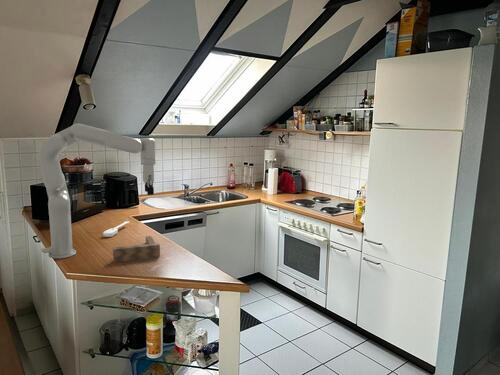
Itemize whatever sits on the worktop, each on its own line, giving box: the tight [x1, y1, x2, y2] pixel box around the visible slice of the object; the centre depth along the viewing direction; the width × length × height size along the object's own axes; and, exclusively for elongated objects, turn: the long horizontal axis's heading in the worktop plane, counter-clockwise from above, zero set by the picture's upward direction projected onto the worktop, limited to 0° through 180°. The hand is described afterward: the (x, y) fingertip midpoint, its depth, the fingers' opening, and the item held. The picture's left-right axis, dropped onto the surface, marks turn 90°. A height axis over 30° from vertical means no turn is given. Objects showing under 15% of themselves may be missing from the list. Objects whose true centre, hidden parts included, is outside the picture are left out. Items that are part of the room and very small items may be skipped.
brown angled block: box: [112, 235, 161, 263], centre depth 201 cm, size 22×26×6 cm
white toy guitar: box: [102, 220, 130, 238], centre depth 236 cm, size 28×6×3 cm, turn 170°
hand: (149, 193), depth 209 cm, fingers open, 9 cm apart
